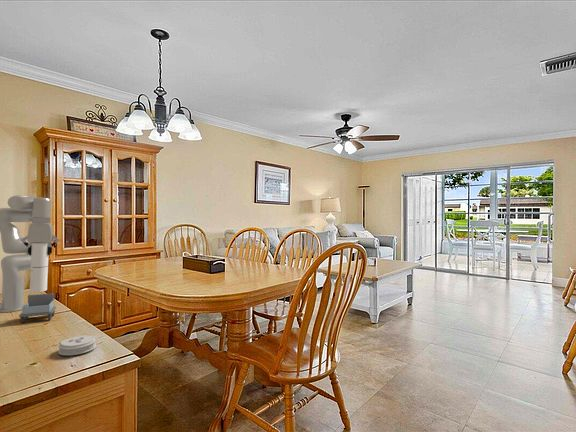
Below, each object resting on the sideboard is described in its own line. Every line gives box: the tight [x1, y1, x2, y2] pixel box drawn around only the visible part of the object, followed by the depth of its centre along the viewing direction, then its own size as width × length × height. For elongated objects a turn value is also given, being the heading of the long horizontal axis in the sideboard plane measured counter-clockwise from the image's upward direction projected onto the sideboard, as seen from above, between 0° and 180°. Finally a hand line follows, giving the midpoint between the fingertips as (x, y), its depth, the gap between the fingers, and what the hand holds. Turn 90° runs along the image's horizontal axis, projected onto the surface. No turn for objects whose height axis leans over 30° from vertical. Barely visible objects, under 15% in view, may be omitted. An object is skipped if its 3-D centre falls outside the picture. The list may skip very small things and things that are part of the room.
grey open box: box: [18, 293, 57, 324], centre depth 166 cm, size 12×13×12 cm
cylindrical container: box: [29, 243, 49, 293], centre depth 165 cm, size 7×7×25 cm
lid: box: [57, 335, 97, 356], centre depth 127 cm, size 13×13×5 cm
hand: (40, 254), depth 165 cm, fingers closed on cylindrical container, 7 cm apart
